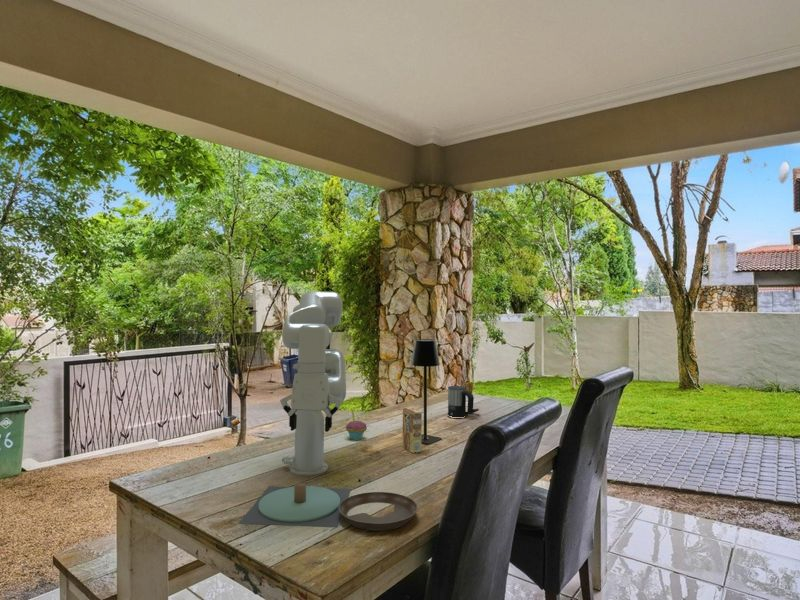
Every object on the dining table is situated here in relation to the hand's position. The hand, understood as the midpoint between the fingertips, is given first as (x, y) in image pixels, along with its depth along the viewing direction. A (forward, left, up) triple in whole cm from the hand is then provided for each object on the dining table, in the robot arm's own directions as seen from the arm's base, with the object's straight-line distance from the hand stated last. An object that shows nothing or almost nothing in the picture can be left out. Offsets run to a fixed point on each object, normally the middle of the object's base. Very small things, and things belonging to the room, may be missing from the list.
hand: (310, 430), depth 138 cm
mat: (-2, -2, -21) cm, 21 cm away
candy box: (+28, +53, -21) cm, 63 cm away
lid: (-2, -2, -20) cm, 20 cm away
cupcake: (+5, +66, -21) cm, 69 cm away
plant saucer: (+20, -7, -21) cm, 30 cm away
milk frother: (+53, +112, -21) cm, 126 cm away
